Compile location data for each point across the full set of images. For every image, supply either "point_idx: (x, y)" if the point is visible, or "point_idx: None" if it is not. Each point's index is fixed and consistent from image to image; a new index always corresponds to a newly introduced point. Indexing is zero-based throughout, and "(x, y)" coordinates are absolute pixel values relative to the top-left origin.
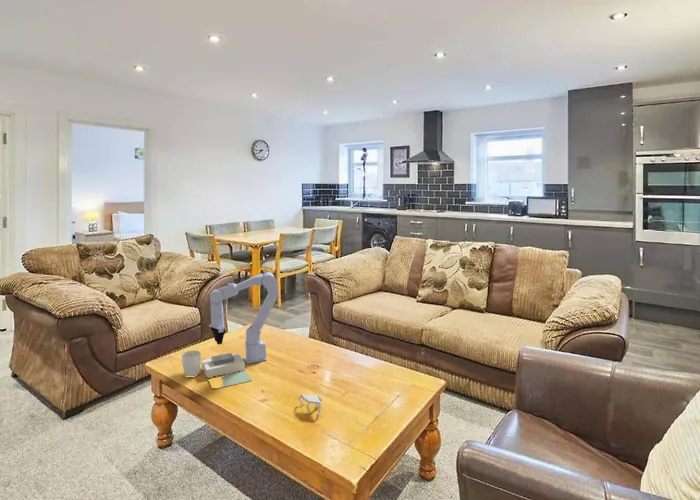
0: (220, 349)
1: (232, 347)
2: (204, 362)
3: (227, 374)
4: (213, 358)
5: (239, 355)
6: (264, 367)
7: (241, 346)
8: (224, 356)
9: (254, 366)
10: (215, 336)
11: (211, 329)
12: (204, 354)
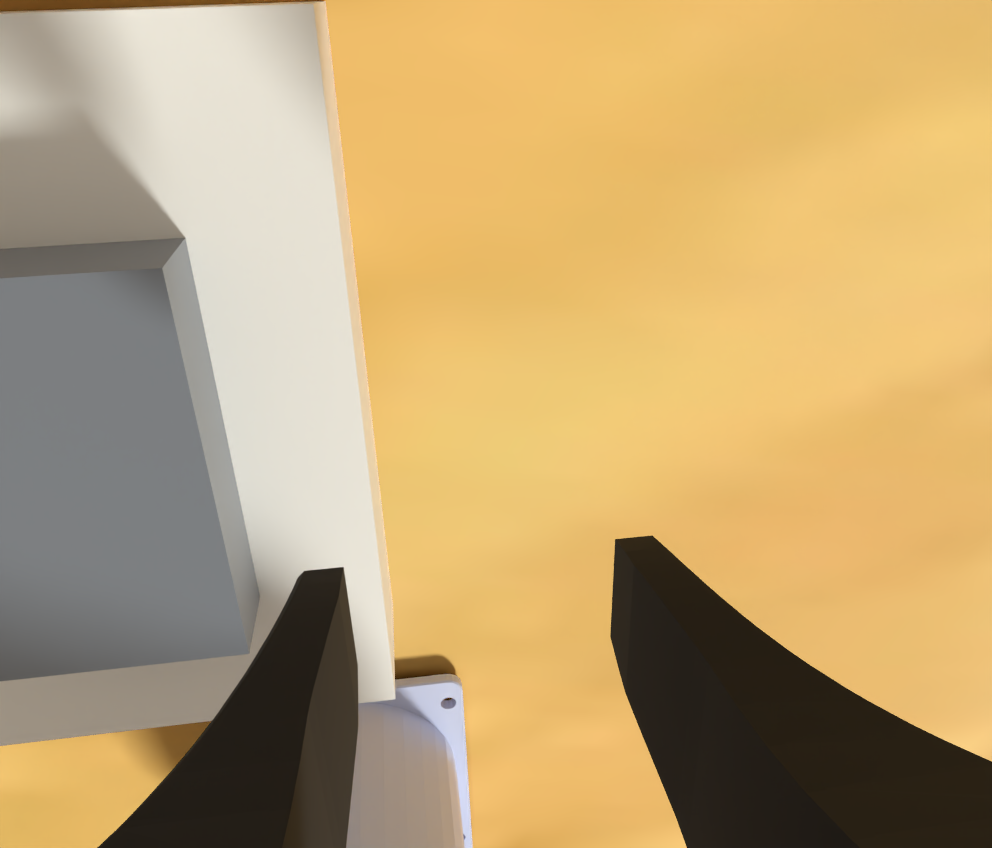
0: (985, 430)
1: (934, 585)
2: (121, 57)
3: None
4: (12, 302)
5: None
6: (38, 840)
7: (884, 683)
8: (81, 535)
9: (109, 754)
10: (247, 766)
11: (925, 787)
12: (969, 155)
